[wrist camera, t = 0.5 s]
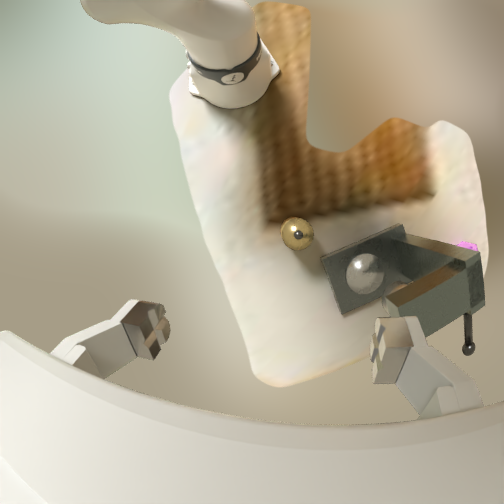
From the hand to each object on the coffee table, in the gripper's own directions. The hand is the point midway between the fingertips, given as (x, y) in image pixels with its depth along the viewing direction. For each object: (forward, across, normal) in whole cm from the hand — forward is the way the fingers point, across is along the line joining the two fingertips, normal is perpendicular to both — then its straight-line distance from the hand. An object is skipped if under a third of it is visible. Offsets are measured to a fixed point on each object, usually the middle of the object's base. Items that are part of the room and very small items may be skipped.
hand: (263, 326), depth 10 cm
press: (+41, -14, +23) cm, 49 cm away
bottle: (+41, +3, +12) cm, 43 cm away
